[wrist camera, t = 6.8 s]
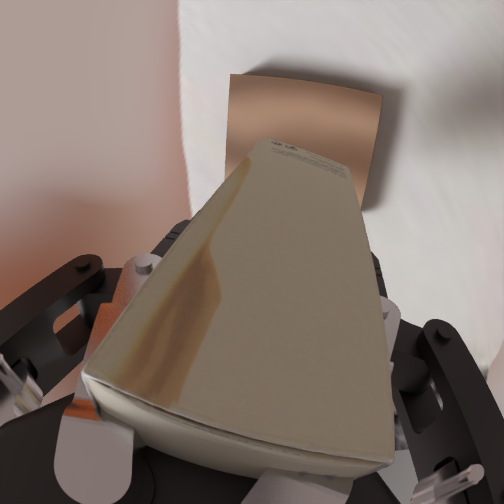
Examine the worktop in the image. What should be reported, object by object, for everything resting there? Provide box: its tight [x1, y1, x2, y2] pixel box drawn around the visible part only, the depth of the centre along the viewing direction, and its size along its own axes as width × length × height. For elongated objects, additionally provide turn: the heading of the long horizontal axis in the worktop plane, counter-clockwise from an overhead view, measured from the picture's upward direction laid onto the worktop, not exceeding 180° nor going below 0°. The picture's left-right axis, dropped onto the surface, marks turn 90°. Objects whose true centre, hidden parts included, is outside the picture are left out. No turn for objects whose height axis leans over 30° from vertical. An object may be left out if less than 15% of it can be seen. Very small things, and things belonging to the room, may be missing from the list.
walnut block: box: [225, 74, 383, 209], centre depth 27 cm, size 13×13×4 cm
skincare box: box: [81, 138, 395, 480], centre depth 9 cm, size 6×4×12 cm
